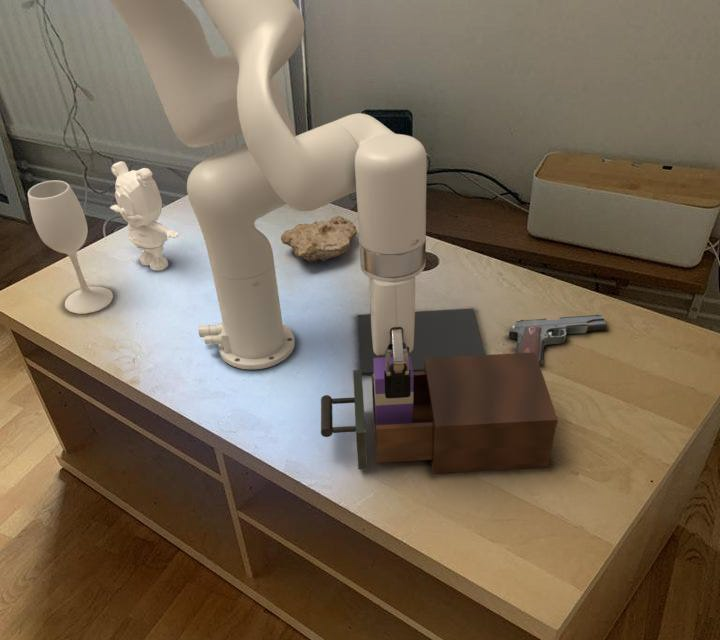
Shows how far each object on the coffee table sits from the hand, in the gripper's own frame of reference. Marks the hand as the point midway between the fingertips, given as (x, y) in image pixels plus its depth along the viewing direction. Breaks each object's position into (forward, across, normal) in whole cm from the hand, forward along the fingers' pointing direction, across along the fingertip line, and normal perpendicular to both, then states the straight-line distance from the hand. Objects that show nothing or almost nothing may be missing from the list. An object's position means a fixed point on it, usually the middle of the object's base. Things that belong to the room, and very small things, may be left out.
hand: (395, 372), depth 95 cm
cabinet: (+12, 0, +12) cm, 18 cm away
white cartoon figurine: (+12, -53, -44) cm, 70 cm away
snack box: (+10, 0, 0) cm, 10 cm away
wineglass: (+12, -41, -54) cm, 69 cm away
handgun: (+13, -22, +26) cm, 37 cm away
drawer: (+11, 0, -1) cm, 11 cm away
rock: (+12, -54, -11) cm, 57 cm away
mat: (+12, -23, +5) cm, 27 cm away
